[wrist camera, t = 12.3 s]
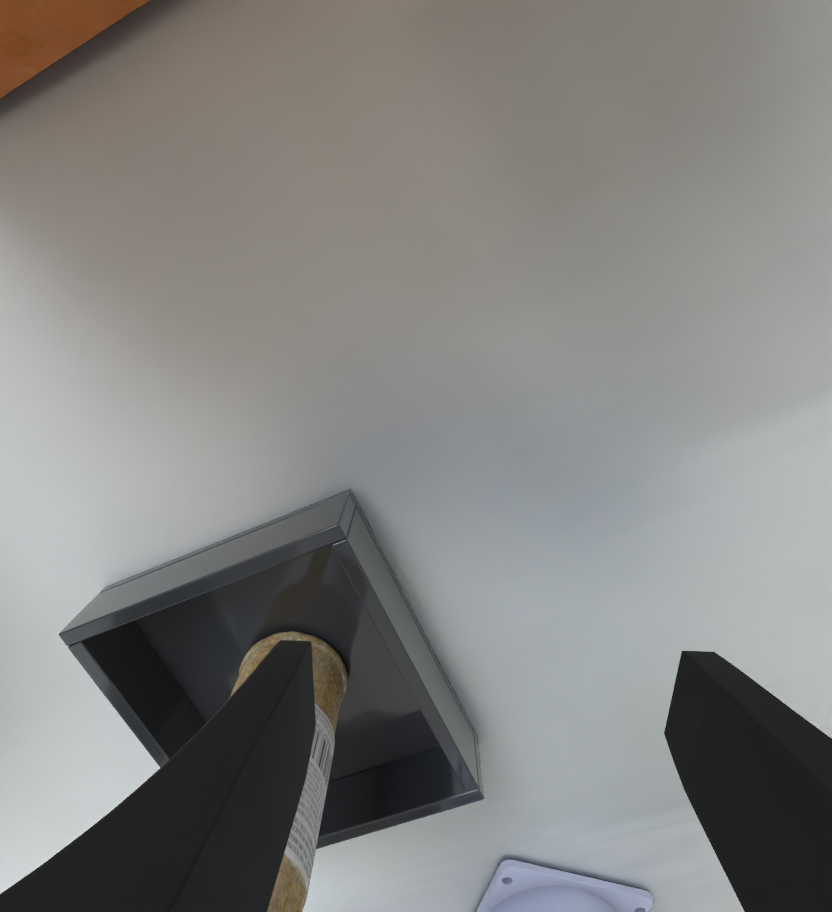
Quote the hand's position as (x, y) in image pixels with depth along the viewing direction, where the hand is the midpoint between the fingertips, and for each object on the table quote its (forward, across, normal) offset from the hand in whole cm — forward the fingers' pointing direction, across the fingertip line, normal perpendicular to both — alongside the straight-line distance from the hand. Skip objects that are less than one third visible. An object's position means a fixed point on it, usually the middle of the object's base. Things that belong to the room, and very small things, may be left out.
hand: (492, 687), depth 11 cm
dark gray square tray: (+10, +6, +9) cm, 15 cm away
